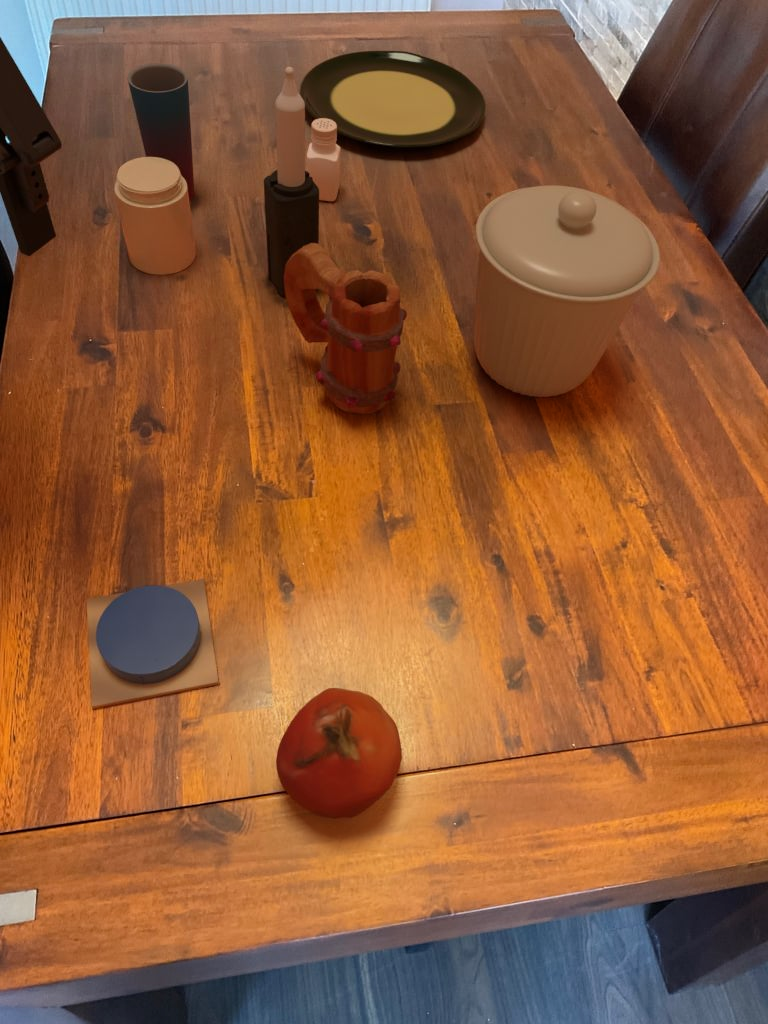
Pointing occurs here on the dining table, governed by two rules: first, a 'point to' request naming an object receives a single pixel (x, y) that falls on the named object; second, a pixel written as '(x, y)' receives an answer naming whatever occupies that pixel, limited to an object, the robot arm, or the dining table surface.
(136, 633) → the lid
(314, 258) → the mug
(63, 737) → the dining table surface
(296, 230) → the candle
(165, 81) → the cup
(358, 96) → the plate
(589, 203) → the canister
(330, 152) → the salt shaker
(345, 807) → the tomato
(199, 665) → the coaster
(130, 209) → the jar
